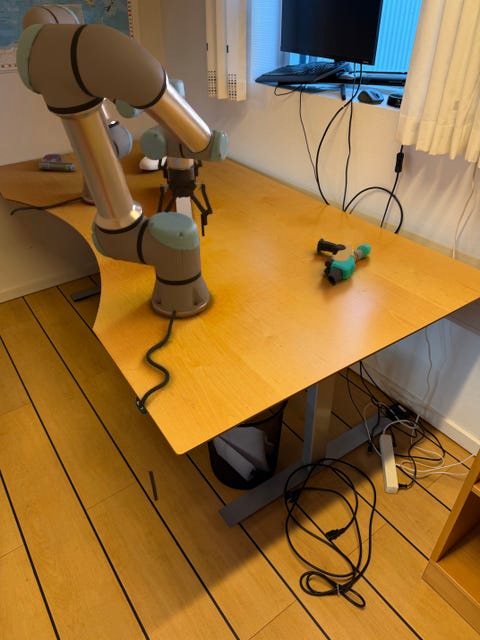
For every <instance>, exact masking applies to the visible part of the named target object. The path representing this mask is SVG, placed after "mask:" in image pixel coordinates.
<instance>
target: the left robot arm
mask: <svg viewBox="0 0 480 640" xmlns="http://www.w3.org/2000/svg"><path fill="white" fill-rule="evenodd" d="M48 22H52V23H55V24H81V23H80V21H79V19H78V16H77V15H76V14H75V12H73V11H72V10H71V9H70V8H68V7H67V6H64V5H56V4H51V5H48V6H35V7H32V8H29V9H28V10H27V11H26V12H25V13H24V15H23V18H22V21H21V27H22V28H21V29H22V32H23V31H24V30H25V29H26V28H28V27H29V26H31V25H34V24H45V23H48ZM168 81H169V83H170V84H171V85H172V86H173V87H174V88H175V89H176V91H177V92H178V93H179V94H180V95H181V96H182V97H183V99H184V100H185V101H186V93H185V85H184V82H183V80H182V79H179V78H168ZM106 99H107V100H108V101H109V102H111V103H112V104H113V105H115V109H116V112H117V113H118V114H119V115H120V116H121V117H122V118H125V119H132V118H136V117H138V116H139V115H141V114H143V113H146V112H145V111H144V110H138V109H135V108H133V107H131V106H130V105H129V104H128V103H127V102H124V101H121V100H117V99H112V98H106ZM102 108H103V112H104V115H105V118H106V121H107V124H108V127H109V130H110V133H111V136H112V139H113V142H114V145H115V148H116V151H117V154H118V157H119V160H120V161H121V160H122V159H124V158H125V157H127V155H128V154H130V152H131V151H132V148H133V137H132V135H131V133H130V131H129V130H128V129H127V128H126V127H124V126H122V125H121V123H120V122H119V119H118V118H116V117H113V116H112V114H111V111H110V109H109V107H108V105H107V103H106V100H105V101H104V102H103V104H102ZM162 159H163V158H162ZM162 159H159V161H158V169H157V170H161V171H162V176H163V177H162V178H163V179H166V185H167V184H168V183H169V174H168V167H169V166H168V164H167V158H166V160H165V162H164V165H161V164H162ZM192 166H193V167H194V178H195V182H196V183H197V177H199V168H202V167H203V161H201V160H197V162H196V160H193V165H192ZM81 173H82V172H81ZM82 177H83V182H82V183H83V185H82V192H81V196H78V197H75V198H71V199H68V200H64V201H61V202H57V203H53V204H49V205H43V206H39V205H38V206H36V205H35V206H25V207H24V206H23V207H17V208H14V209H13V210H12V211H11V212H10V214H9V215H10V216H13V215H14V214H15V213H16V212H18V211H26V210H27V211H28V210H45V209H51V208H55V207H60V206H63V205H66V204H69V203H73V202H76V201H80V200H82V201H83V202H84V203H85V204H87V205H88V204H89V205H93V206H95V203H94V201H93V198H92V196H91V193H90V191H89V188H88V186H87V183H86V181H85V178H84V176H83V173H82Z"/></svg>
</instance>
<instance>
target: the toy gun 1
mask: <svg viewBox="0 0 480 640" xmlns="http://www.w3.org/2000/svg"><path fill="white" fill-rule="evenodd" d="M62 160H63V157H62V155H61V153H48V154H46V155H44V156H43V158H42V160H39V163H38V164H37V167H38V169H39V170H44V171H45V170H46V171H47V170H49V171H64V172H74V171H75V168H76V167H77V166H76V163H73V162H70V161H69V162H68V161H62Z"/></svg>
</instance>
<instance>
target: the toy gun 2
mask: <svg viewBox="0 0 480 640" xmlns="http://www.w3.org/2000/svg"><path fill="white" fill-rule="evenodd" d="M371 251H372V246H371V245H370V244H367V243H366V244H365V243H362V244H359V245H358V246H357V247H356V249H354V247H353V246H352V245H346V244H341V243H338V244H337V243H335V242H332V241H327V240H325V239H324V238H322V237H320V239H319V240H318V241H317V245H316V252H317V253H321V252H328V253H331V254H332V256H331V257H329V258H327V259H326V260H325V262H324V266H325V268H324V269H323V273H324V274H325V275H326V276H327V278H326V280H327V281H328V283H329V284H330V285H332V286H337V284H338V282H340V281H341V279H343V280H347V279H349V278H351V277H352V276H353V274H354V273H355V271H356V263H355V262H358V261H359V260H361V259H362V258H367V257H368V256H369V255H370V254H371Z"/></svg>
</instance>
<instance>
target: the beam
mask: <svg viewBox="0 0 480 640" xmlns="http://www.w3.org/2000/svg"><path fill="white" fill-rule="evenodd" d="M175 208H176V212H177V213H181V214H184V215H187V216H189V217H190V218H192V219H193V212H192V204H191V198H190V196H189V197H188V198H185V197H182V198H178V197H177V199H176V201H175Z"/></svg>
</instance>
